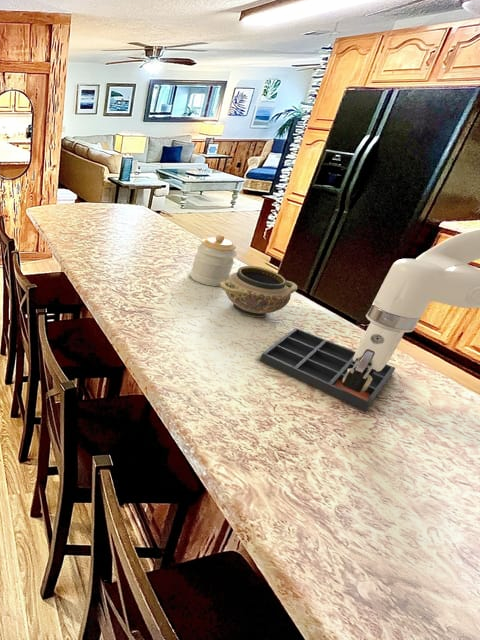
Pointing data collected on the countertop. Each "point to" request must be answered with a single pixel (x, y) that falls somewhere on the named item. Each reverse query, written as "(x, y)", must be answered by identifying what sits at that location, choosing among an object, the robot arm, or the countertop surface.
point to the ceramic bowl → (257, 291)
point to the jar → (213, 261)
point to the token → (365, 383)
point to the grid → (322, 366)
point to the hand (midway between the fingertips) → (355, 383)
